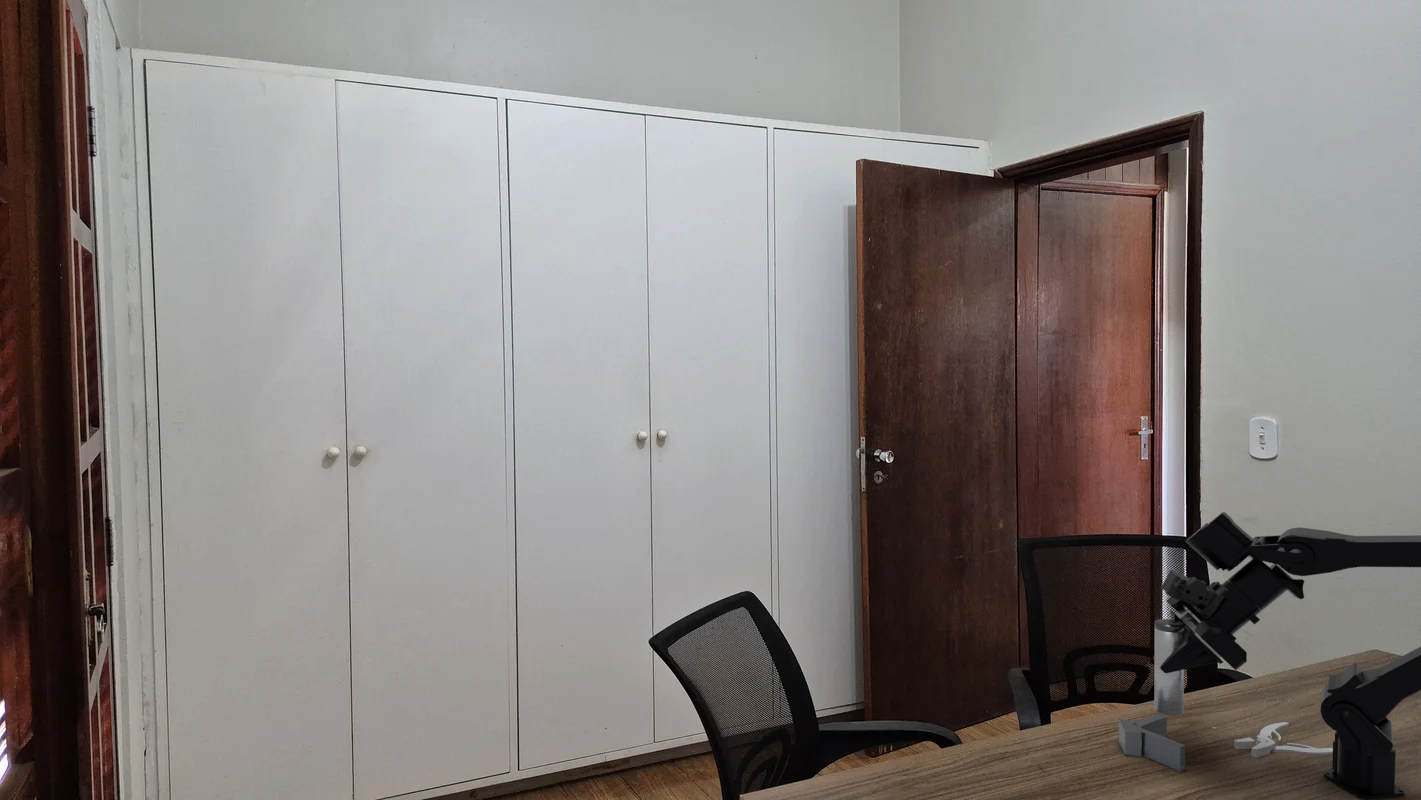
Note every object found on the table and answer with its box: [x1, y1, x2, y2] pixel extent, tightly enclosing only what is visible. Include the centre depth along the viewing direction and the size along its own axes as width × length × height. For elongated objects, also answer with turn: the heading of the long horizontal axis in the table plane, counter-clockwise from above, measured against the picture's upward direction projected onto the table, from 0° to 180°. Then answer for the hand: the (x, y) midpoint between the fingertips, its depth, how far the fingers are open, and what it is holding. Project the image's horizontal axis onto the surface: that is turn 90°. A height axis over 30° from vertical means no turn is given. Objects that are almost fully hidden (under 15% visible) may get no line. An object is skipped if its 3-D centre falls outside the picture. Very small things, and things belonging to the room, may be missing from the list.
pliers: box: [1233, 721, 1333, 758], centre depth 128 cm, size 10×2×15 cm
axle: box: [1153, 618, 1185, 717], centre depth 125 cm, size 4×4×13 cm
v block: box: [1118, 713, 1186, 772], centre depth 126 cm, size 7×12×4 cm, turn 165°
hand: (1158, 665), depth 125 cm, fingers closed on axle, 4 cm apart
